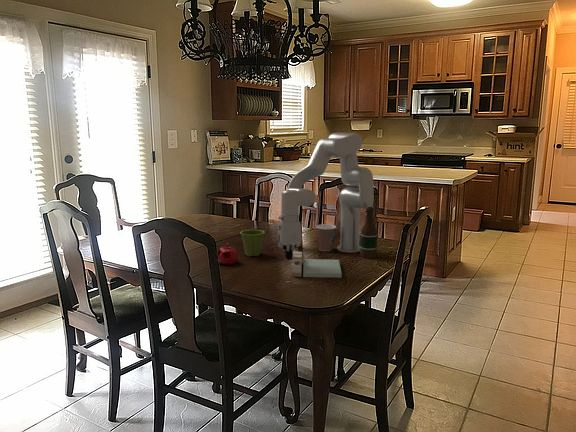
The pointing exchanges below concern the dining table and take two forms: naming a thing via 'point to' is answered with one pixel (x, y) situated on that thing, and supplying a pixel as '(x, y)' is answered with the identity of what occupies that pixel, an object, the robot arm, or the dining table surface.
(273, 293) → the dining table surface
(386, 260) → the dining table surface
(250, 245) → the plant pot
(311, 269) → the pale green flat slab
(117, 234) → the dining table surface
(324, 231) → the coffee cup
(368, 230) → the beer bottle
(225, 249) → the pomegranate
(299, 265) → the beige patterned long block
